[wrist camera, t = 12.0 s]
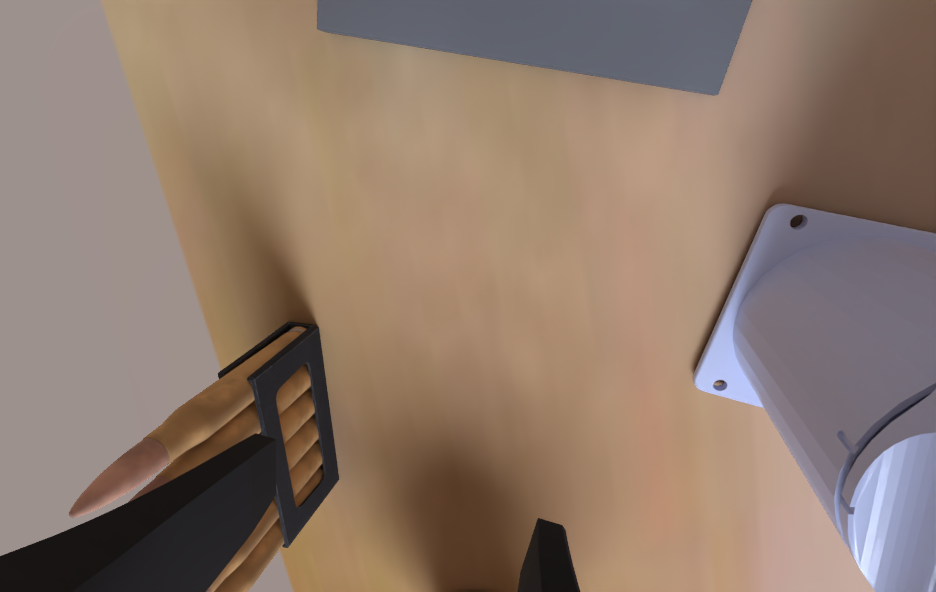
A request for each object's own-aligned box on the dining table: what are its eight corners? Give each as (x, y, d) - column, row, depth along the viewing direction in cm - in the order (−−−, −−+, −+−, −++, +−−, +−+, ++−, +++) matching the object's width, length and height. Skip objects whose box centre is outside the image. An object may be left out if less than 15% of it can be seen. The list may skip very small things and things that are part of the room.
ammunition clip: (288, 320, 24) (36, 485, 13) (318, 324, 23) (83, 498, 13) (313, 474, 28) (135, 698, 17) (339, 480, 27) (174, 714, 17)
